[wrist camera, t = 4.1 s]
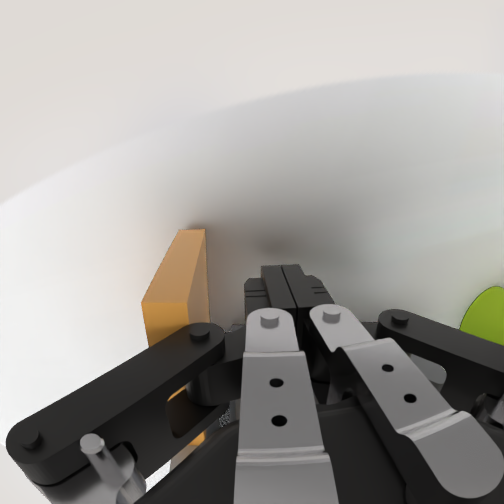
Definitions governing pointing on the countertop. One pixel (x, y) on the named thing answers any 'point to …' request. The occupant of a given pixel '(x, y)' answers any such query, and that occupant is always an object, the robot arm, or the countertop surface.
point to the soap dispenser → (486, 316)
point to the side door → (179, 302)
